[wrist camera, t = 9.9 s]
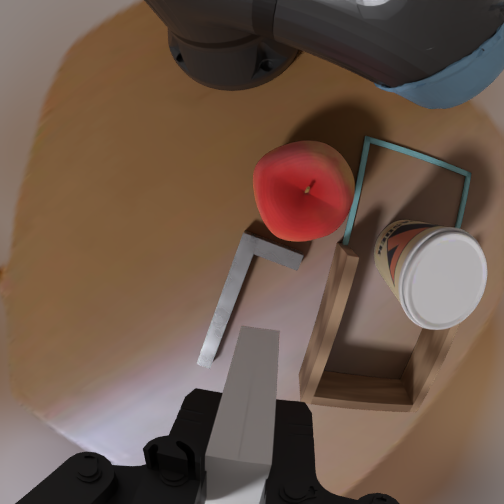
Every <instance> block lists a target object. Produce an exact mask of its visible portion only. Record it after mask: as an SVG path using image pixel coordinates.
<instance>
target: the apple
mask: <svg viewBox="0 0 504 504" xmlns="http://www.w3.org/2000/svg"><path fill="white" fill-rule="evenodd" d="M253 189H254V195H255V200H256V204H257V207H258V210H259V213H260V215H261V217H262V220H263V221H264V223H265V225H266V226H267V227H268V229H269V230H270V231H271V232H272V233H273V234H274V235H275V236H276V237H278V238H281V239H283V240H288V241H297V242H300V241H308V240H313V239H317V238H321V237H324V236H327V235H329V234H331V233H333V232H334V231H335V230H337V229H338V228H339V227H340V225H341V224H342V223H343V222H344V220H345V219H346V217H347V215H348V213H349V211H350V209H351V206H352V203H353V200H354V194H355V182H354V177H353V174H352V171H351V169H350V167H349V165H348V163H347V162H346V160H345V159H344V158H343V156H342V155H341V154H340V153H339V152H338V151H337V150H335V149H334V148H333V147H331V146H329V145H327V144H325V143H322V142H318V141H310V140H308V141H297V142H292V143H289V144H285V145H283V146H280V147H278V148H276V149H274V150H272V151H270V152H268V153H267V154H266V155H264V156H263V157H262V158H261V159H260V160H259V161H258V163H257V164H256V167H255V169H254V174H253Z"/></svg>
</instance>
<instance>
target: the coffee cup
mask: <svg viewBox="0 0 504 504" xmlns="http://www.w3.org/2000/svg"><path fill="white" fill-rule="evenodd" d="M374 260H375V264H376V267H377V269H378V271H379V272H380V274H381V276H382V277H383V279H384V280H385V281H386V283H387V284H388V286H389V287H390V289H391V290H392V292H393V293H394V295H395V296H396V298H397V299H398V300H399V302H400V303H401V305H402V307H403V309H404V311H405V313H406V315H407V316H408V317H409V318H410V319H411V320H412V321H413V322H414V323H415V324H417V325H419V326H420V327H423V328H426V329H433V330H434V329H435V330H441V329H447V328H450V327H453V326H455V325H457V324H459V323H460V322H462V321H463V320H464V319H466V318H467V317H468V316H469V315H470V314H471V313H472V312H473V310H474V309H475V308H476V306H477V305H478V303H479V301H480V299H481V297H482V295H483V292H484V289H485V286H486V281H487V263H486V259H485V255H484V253H483V251H482V248H481V246H480V245H479V243H478V242H477V240H476V239H475V238H474V237H473V236H472V235H471V234H469V233H468V232H466V231H464V230H462V229H459V228H454V227H444V226H440V225H435V224H430V223H425V222H419V221H413V220H399V221H396V222H393V223H391V224H390V225H388V226H387V227H386V228H385V229H384V230H383V231H382V232H381V234H380V235H379V237H378V239H377V241H376V244H375V248H374Z"/></svg>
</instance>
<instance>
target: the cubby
mask: <svg viewBox="0 0 504 504" xmlns="http://www.w3.org/2000/svg"><path fill="white" fill-rule="evenodd" d="M358 261H359V257H358V256H357V255H356V254H355V253H354V252H353V251H352V250H351V248H350V247H349V246H347V245H343V244H341V243H337V245H336V249H335V253H334V257H333V261H332V265H331V268H330V272H329V276H328V280H327V283H326V287H325V291H324V294H323V298H322V301H321V305H320V308H319V312H318V315H317V318H316V322H315V325H314V328H313V332H312V335H311V338H310V341H309V345H308V348H307V351H306V354H305V357H304V360H303V363H302V366H301V369H300V372H299V384H300V400H301V402H305V403H307V404H314V405H322V406H330V407H340V408H350V409H361V410H375V411H392V412H417V411H418V409H419V407H420V405H421V404H422V402H423V400H424V398H425V396H426V395H427V393H428V391H429V389H430V387H431V385H432V383H433V381H434V379H435V378H436V376H437V374H438V372H439V370H440V368H441V365H442V363H443V361H444V359H445V357H446V355H447V353H448V351H449V348H450V346H451V344H452V342H453V339H454V337H455V335H456V332H457V330H458V327H459V325H460V323H459V324H457V325H455V326H453V327H450V328H447V329H441V330H435V329H434V330H433V329H426V328H423V329H422V331H421V334H420V336H419V339H418V341H417V343H416V346H415V348H414V350H413V353H412V355H411V357H410V359H409V362H408V364H407V366H406V368H405V370H404V372H403V375H402V377H401V379H400V380H399V379H388V378H378V377H368V376H360V375H352V374H344V373H337V372H329V371H323V370H324V368H325V365H326V362H327V359H328V357H329V354H330V351H331V348H332V345H333V342H334V339H335V336H336V333H337V330H338V327H339V324H340V321H341V318H342V315H343V312H344V309H345V306H346V302H347V299H348V296H349V292H350V289H351V286H352V282H353V279H354V275H355V272H356V268H357V265H358Z"/></svg>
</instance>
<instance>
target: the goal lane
mask: <svg viewBox="0 0 504 504" xmlns="http://www.w3.org/2000/svg"><path fill="white" fill-rule="evenodd" d="M370 143H371V144H375V145H378V146H382V147H385V148H388V149H391V150H394V151H398V152H401V153H404V154H407V155H410V156H413V157H416V158H419V159H421V160H424V161H427V162H430V163H433V164H435V165H438V166H441V167H443V168H446V169H449V170H451V171H454V172H456V173H459V174H461V175H464V176H466V177H465V182H464V188H463V193H462V198H461V203H460V208H459V212H458V217H457V221H456V225H455V228H459V229H460V227H461V223H462V219H463V214H464V210H465V205H466V200H467V195H468V190H469V184H470V179H471V173H470V172H468V171H465V170H463V169H460V168H458V167H455V166H453V165H450V164H448V163H445V162H443V161H440V160H437V159H435V158H432V157H429V156H426V155H424V154H421V153H418V152H415V151H412V150H409V149H406V148H403V147H400V146H397V145H394V144H391V143H388V142H385V141H381V140H378V139H375V138H371V137H368V136H365V140H364V145H363V150H362V156H361V161H360V166H359V171H358V176H357V181H356V186H355V194H354V200H353V203H352V206H351V209H350V213H349V217H348V222H347V226H346V230H345V234H344V238H343V242H342V244H343V245H347V246H348V243H349V239H350V235H351V230H352V226H353V222H354V218H355V214H356V209H357V205H358V200H359V196H360V191H361V187H362V182H363V177H364V172H365V167H366V162H367V157H368V151H369V146H370Z"/></svg>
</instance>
